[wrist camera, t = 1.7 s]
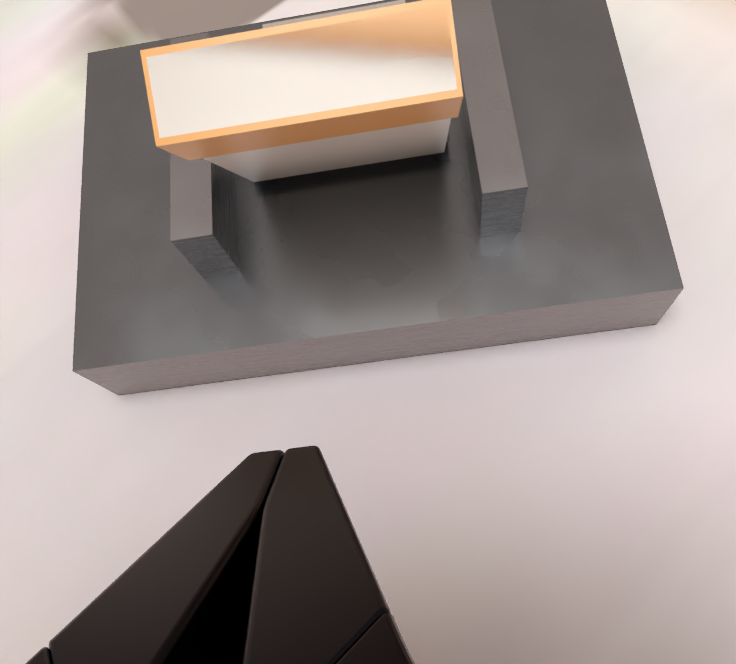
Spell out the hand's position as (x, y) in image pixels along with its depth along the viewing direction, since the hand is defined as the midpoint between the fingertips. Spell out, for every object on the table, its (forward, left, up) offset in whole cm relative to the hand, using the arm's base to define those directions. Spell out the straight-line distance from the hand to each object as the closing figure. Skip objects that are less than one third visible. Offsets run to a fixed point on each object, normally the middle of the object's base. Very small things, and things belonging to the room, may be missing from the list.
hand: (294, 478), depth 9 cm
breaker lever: (+10, +6, -10) cm, 15 cm away
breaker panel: (+10, +6, -14) cm, 18 cm away
